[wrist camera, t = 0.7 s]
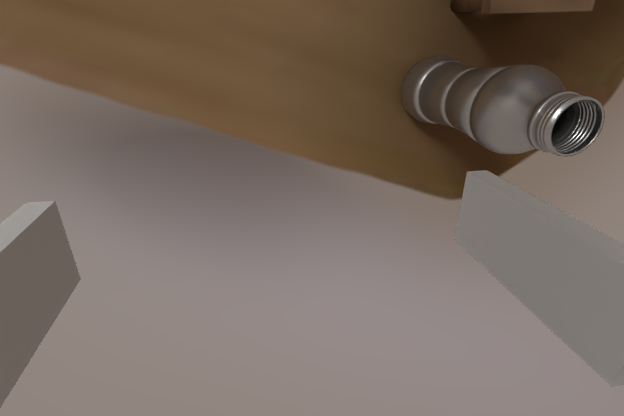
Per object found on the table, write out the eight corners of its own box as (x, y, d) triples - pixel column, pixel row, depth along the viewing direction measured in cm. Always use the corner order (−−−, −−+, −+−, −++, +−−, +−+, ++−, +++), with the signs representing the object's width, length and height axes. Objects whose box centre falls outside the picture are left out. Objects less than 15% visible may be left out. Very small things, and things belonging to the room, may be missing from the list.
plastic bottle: (385, 76, 39) (514, 109, 21) (442, 42, 38) (622, 46, 21) (407, 129, 42) (536, 198, 24) (460, 97, 41) (632, 144, 23)
